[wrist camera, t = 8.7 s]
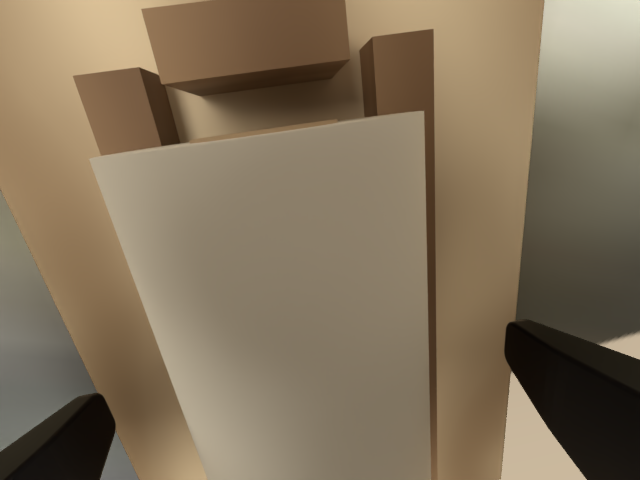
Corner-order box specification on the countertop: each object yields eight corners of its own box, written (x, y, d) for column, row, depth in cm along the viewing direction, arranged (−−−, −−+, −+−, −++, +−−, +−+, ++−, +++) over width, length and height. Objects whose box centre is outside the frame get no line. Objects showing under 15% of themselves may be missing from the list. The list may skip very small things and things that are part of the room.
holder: (179, 508, 13) (143, 638, 10) (-48, -16, 7) (-345, -140, 4) (483, 450, 14) (545, 554, 11) (516, -81, 8) (692, -240, 4)
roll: (397, 422, 11) (472, 637, 7) (253, 447, 11) (225, 685, 6) (376, 112, 8) (505, 96, 3) (167, 142, 8) (-33, 172, 3)
